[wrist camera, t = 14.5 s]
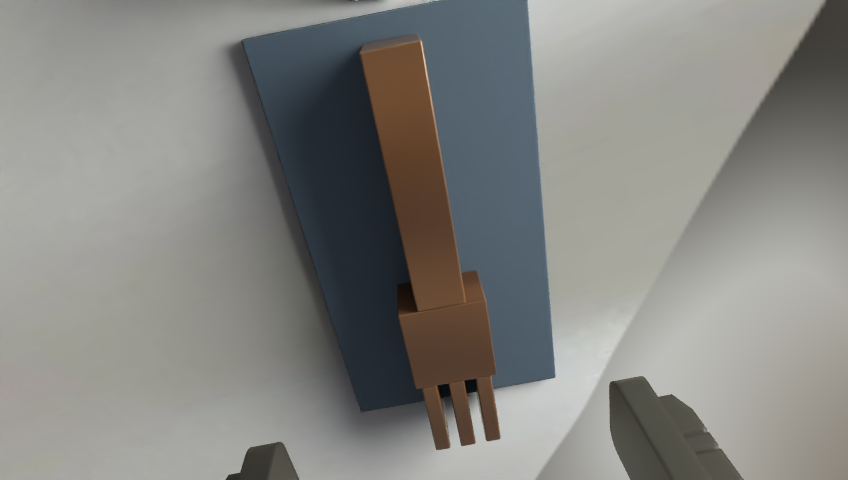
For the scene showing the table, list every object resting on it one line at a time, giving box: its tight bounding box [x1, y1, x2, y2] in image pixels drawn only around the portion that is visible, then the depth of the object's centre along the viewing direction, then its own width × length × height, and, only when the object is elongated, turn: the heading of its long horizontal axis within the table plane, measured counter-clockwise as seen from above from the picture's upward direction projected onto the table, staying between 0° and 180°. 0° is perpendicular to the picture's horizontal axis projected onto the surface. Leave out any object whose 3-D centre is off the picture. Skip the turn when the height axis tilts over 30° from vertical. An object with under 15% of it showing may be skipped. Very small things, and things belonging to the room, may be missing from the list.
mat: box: [242, 0, 555, 412], centre depth 22 cm, size 18×10×1 cm, turn 10°
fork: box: [359, 33, 500, 450], centre depth 21 cm, size 18×4×2 cm, turn 10°
